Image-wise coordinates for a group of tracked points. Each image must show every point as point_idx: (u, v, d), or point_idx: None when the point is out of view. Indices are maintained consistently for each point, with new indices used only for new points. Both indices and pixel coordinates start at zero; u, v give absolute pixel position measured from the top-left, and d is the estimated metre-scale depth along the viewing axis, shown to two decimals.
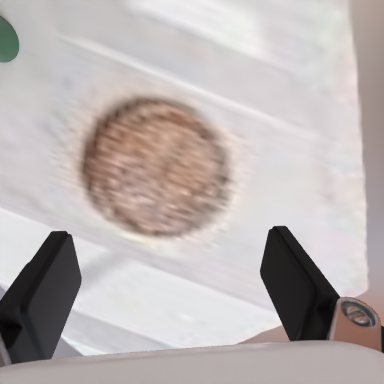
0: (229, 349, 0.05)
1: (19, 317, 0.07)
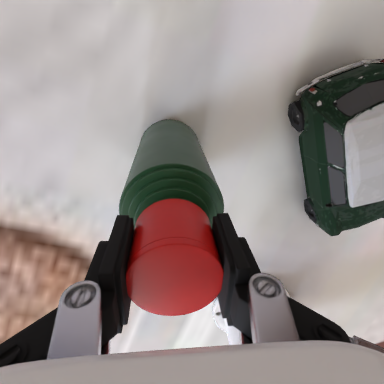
0: (229, 349, 0.05)
1: (113, 282, 0.08)
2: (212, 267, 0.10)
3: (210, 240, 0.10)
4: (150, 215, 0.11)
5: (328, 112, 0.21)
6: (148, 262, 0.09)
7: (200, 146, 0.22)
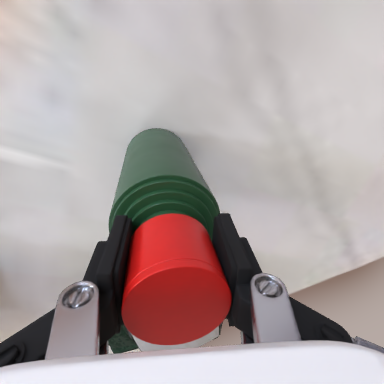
0: (229, 349, 0.05)
1: (111, 282, 0.08)
2: (219, 290, 0.09)
3: (214, 259, 0.10)
4: (146, 233, 0.10)
5: None
6: (148, 288, 0.08)
7: None
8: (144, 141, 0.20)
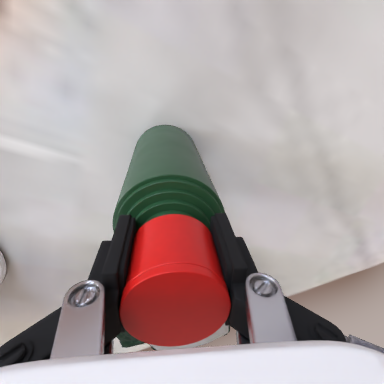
0: (229, 349, 0.05)
1: (116, 281, 0.08)
2: (218, 296, 0.09)
3: (215, 264, 0.09)
4: (148, 233, 0.10)
5: None
6: (146, 291, 0.08)
7: None
8: (152, 138, 0.20)
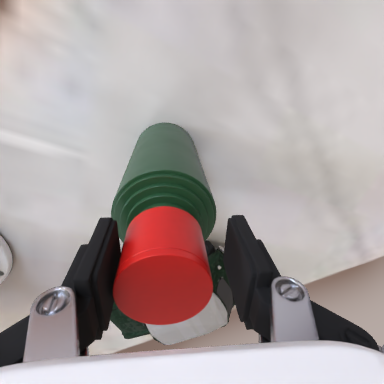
0: (229, 349, 0.05)
1: (90, 287, 0.08)
2: (201, 278, 0.10)
3: (200, 250, 0.10)
4: (140, 223, 0.11)
5: (214, 276, 0.28)
6: (136, 272, 0.09)
7: None
8: (151, 135, 0.21)
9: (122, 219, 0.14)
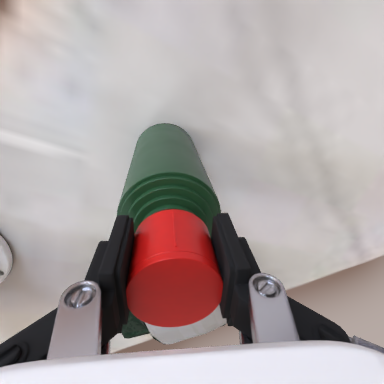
0: (229, 349, 0.05)
1: (113, 282, 0.08)
2: (155, 269, 0.09)
3: (142, 252, 0.10)
4: None
5: None
6: (147, 314, 0.10)
7: None
8: (152, 137, 0.21)
9: None
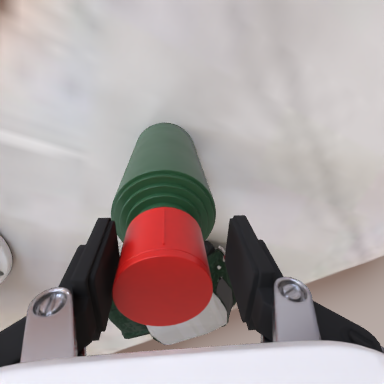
0: (229, 349, 0.05)
1: (87, 288, 0.08)
2: (142, 267, 0.09)
3: (130, 249, 0.10)
4: None
5: (214, 276, 0.28)
6: (135, 313, 0.10)
7: None
8: (151, 136, 0.21)
9: (122, 219, 0.14)
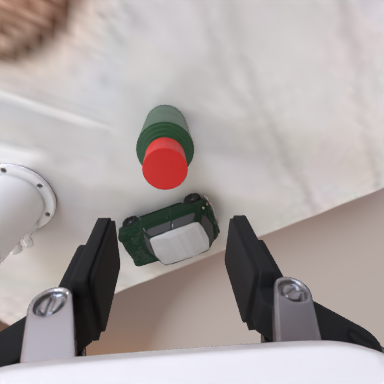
0: (229, 349, 0.05)
1: (87, 288, 0.08)
2: (156, 153, 0.21)
3: (150, 149, 0.22)
4: None
5: (199, 213, 0.40)
6: (152, 180, 0.22)
7: None
8: (156, 110, 0.33)
9: (143, 148, 0.26)
